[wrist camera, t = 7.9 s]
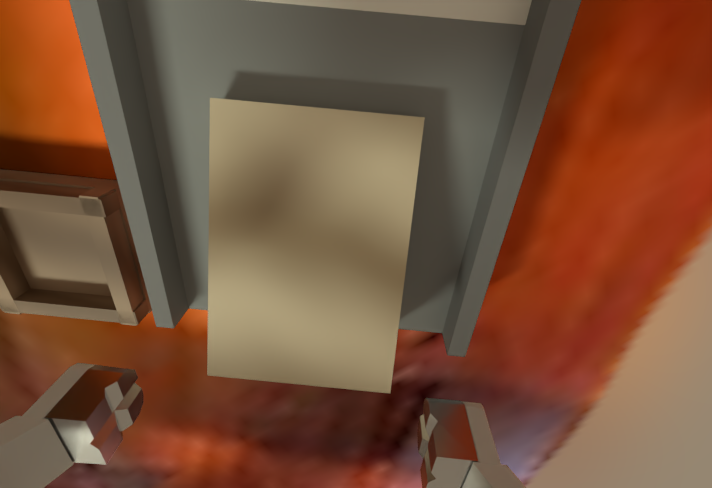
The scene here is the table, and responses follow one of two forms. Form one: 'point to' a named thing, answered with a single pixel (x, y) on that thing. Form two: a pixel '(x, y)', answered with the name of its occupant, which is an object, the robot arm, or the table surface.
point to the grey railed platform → (333, 91)
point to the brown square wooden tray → (68, 249)
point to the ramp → (308, 242)
